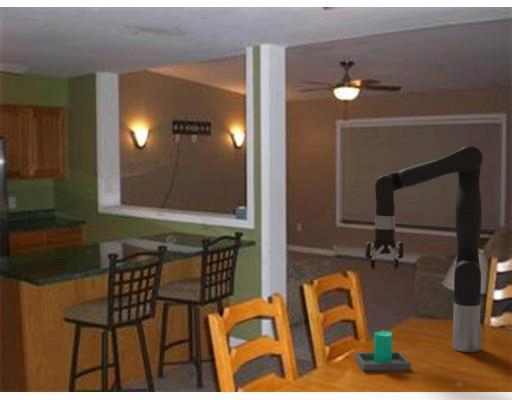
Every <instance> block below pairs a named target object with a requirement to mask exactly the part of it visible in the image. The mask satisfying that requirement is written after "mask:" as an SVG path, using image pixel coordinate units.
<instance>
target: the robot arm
mask: <svg viewBox="0 0 512 400" xmlns="http://www.w3.org/2000/svg"><path fill="white" fill-rule="evenodd" d="M483 159H484V157H483V153H482V151H481V150H480V149H479V148H478V147H476V146H474V145H466V146H463V147H461V148H460V149H459V150H457V151H455V152H453V153H451V154H449V155H446V156H444V157H441V158H439V159H435V160H431V161H427V162H422V163H419V164H415V165H412V166H408V167H406V168H402V170H401V169H400V170H399V171H396V172H391V173H387V174H384V175H380V176H379V177H378V178H377V179H376V181H375V184H374V185H375V186H374V188H375V189H374V192H375V220H374V241H373V242H369V241H367V242H366V243H365V256H364V257H365V258H367V259H369V267H370V269H371V270H376V260H375V259H376V257H378V255H383V254H387V255H389V254H390V255H392V257H393V264H392V265H393V266H392V268H393V270H397V269H398V268H399V260H400V259H403V258H404V243H403V242H401V241H398V242H395V241H396V240H395V239H396V237H395V236H396V217H395V212H396V211H395V201H394V198H395V197H394V192H395V191H398V190H400V189H404V188H409V187H413V186H416V185H417V186H418V185H420V184H423V183H427V182H429V181H431V180H433V179H437V178H440V177H442V176H445V175H449V174H450V175H451V174H454V173H457V177H458V186H457V193H456V199H455V209H454V210H455V211H454V212H455V214H454V215H455V219H454V222H455V234H456V235H455V236H456V240H457V253H456V255H457V256H456V261H455V262H456V263H455V267H454V275H453V277H454V278H453V282H454V283H453V285H454V286H453V317H452V318H453V319H452V320H453V321H452V323H453V324H452V348H453V350H455V351H457V352H458V351H459V352H463V353H474V352H476V353H477V352H479V351H482V328H483V327H482V324H480V318H481V317H480V315H481V313H480V311H481V295H482V293H481V291H482V269H481V265H480V256H479V243H480V237H481V232H482V221H483V220H482V219H483V218H482V217H483V215H482V213H483V210H482V209H483V208H482V206H483V205H482V196H481V190H480V177H481V169H482V163H483V161H484V160H483ZM373 247H374V248H375V249H374V250H373V251H372V250H371V249H372V248H373ZM395 247H396V248H397V250H398V251H397V253H396V251H395V250H394V249H395ZM371 251H372V254H371Z"/></svg>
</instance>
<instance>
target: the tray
mask: <svg viewBox="0 0 512 400" xmlns="http://www.w3.org/2000/svg"><path fill="white" fill-rule="evenodd" d="M354 356H355V357H354V360H355V362H356V363H357V365H358V366H359V367H360V368H361V370H362V371H363V372H364V373H365V372H367V373H368V372H396V371H397V372H401V371H405V370H409V371H411V370H412V367H411V365H412V364H411V362H410V361H409V360H408V359H407V358H406V356H404V355H403V353H401V352H400V351H392V363H374V351H373V352H367V351H366V352H355V353H354ZM405 372H406V371H405Z"/></svg>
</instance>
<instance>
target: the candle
mask: <svg viewBox="0 0 512 400" xmlns="http://www.w3.org/2000/svg"><path fill="white" fill-rule="evenodd" d="M373 334H374V335H373V336H374V337H373V341H374V342H373V352H374V363H392V352H393V349H392V348H393V333H392V332H390V331H388V330H384V328H383V329H382V330H381V331H374V333H373Z"/></svg>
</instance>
